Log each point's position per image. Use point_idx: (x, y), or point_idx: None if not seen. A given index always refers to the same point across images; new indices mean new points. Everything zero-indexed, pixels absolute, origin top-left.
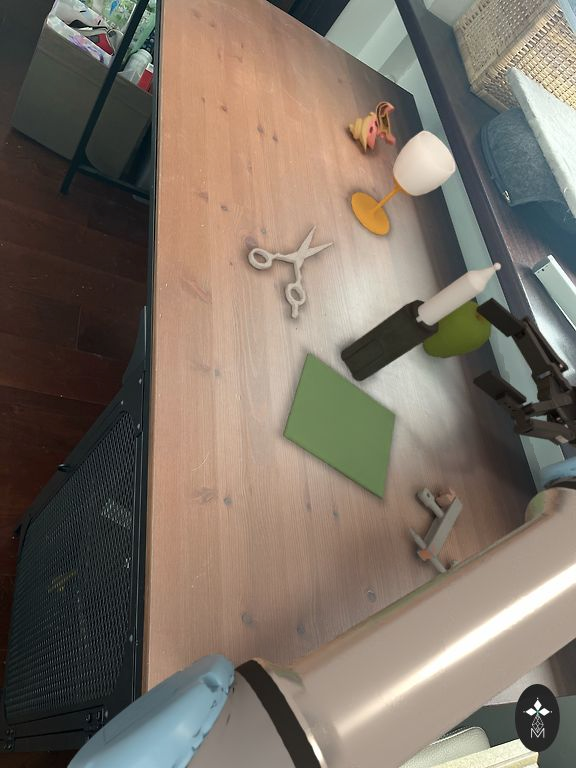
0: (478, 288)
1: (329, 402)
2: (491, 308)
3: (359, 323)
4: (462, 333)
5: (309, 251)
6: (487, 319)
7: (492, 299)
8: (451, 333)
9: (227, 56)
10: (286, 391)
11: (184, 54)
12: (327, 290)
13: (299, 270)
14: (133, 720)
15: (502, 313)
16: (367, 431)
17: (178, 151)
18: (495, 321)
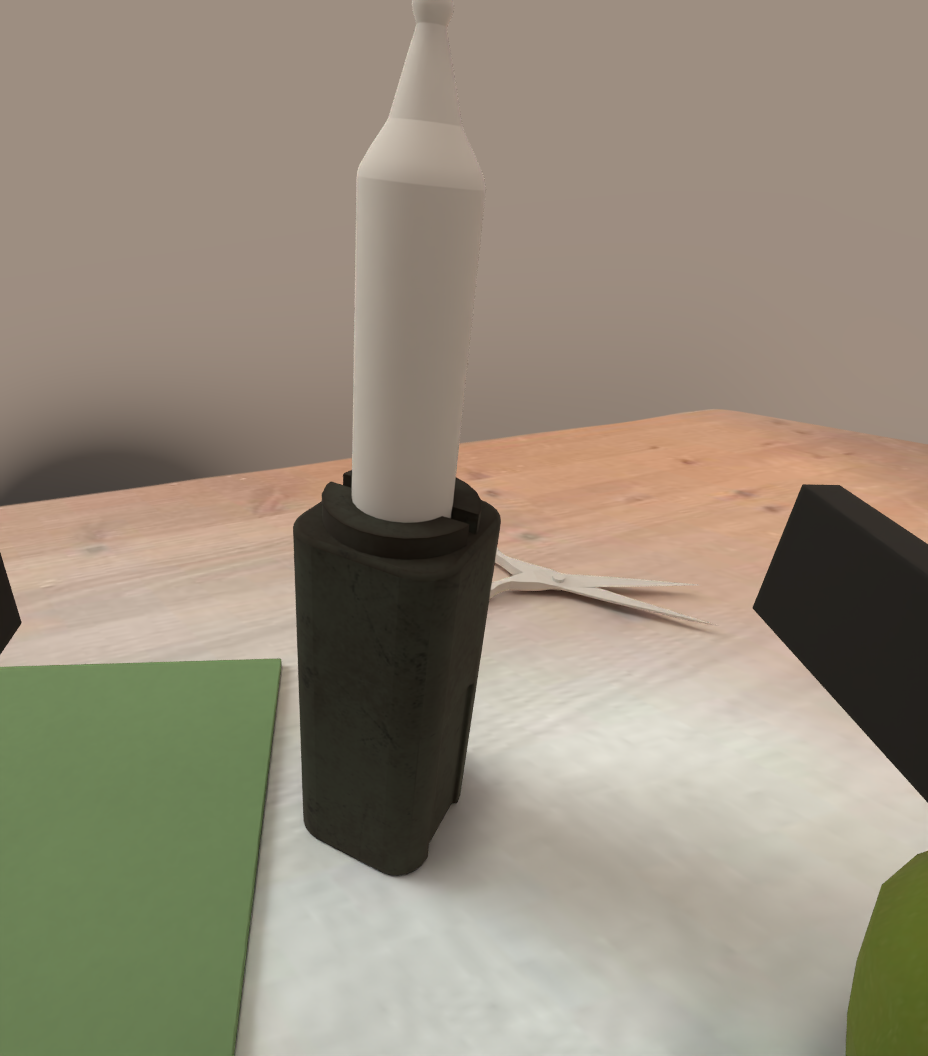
0: (364, 164)
1: (130, 745)
2: (816, 557)
3: (563, 767)
4: (921, 984)
5: (596, 590)
6: (823, 677)
7: (820, 485)
8: (867, 966)
9: (789, 448)
10: (116, 652)
11: (688, 426)
12: (555, 659)
13: (505, 581)
14: None
15: (901, 590)
16: (51, 920)
17: (513, 448)
18: (882, 698)
